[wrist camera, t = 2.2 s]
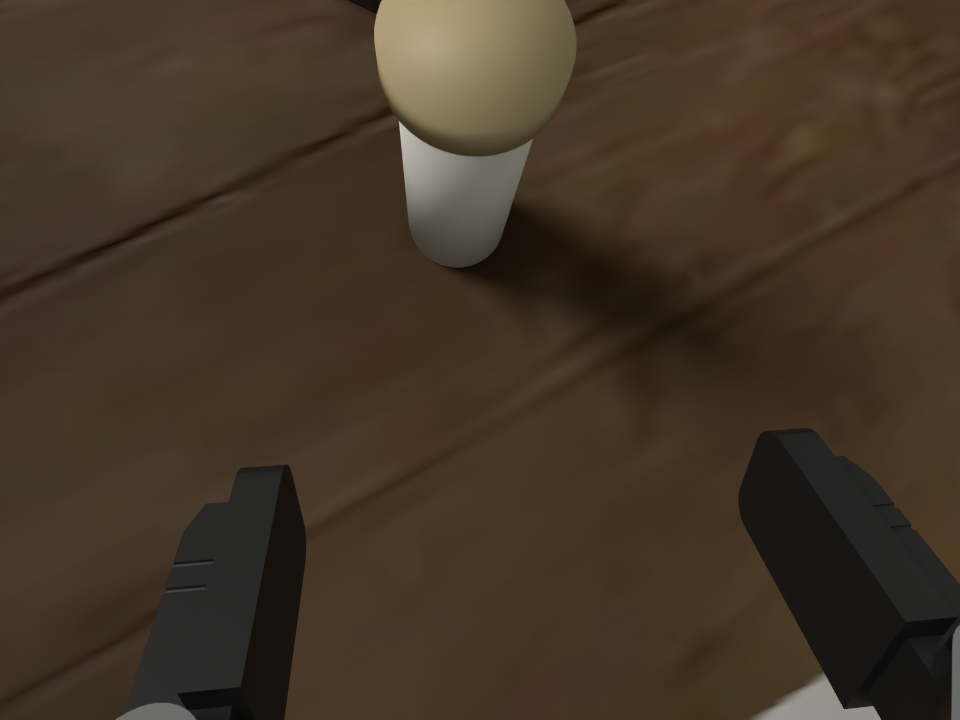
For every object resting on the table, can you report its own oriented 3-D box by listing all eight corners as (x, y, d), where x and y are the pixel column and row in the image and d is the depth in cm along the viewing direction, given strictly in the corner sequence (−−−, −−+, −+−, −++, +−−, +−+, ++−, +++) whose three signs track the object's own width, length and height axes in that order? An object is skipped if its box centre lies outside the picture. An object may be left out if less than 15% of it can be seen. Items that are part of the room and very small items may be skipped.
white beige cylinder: (379, 245, 27) (338, 75, 15) (430, 149, 27) (430, -85, 16) (483, 296, 27) (525, 167, 15) (531, 198, 27) (607, 1, 16)
